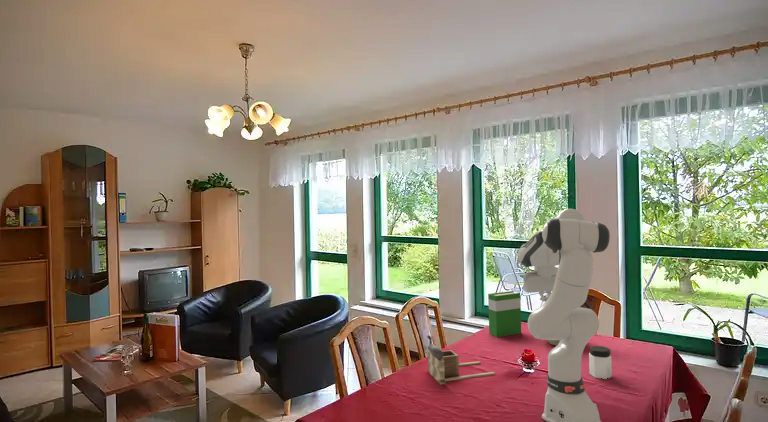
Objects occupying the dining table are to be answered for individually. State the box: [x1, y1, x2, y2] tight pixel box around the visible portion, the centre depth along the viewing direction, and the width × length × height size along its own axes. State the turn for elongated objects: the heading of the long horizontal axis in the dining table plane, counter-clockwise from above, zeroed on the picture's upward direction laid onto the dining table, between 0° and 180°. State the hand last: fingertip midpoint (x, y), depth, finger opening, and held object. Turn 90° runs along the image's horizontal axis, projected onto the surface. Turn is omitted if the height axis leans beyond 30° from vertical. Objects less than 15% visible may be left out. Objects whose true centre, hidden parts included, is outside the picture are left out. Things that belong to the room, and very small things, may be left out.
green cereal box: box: [487, 290, 522, 338], centre depth 266 cm, size 18×7×24 cm, turn 112°
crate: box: [441, 349, 460, 378], centre depth 202 cm, size 8×8×9 cm
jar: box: [588, 345, 613, 380], centre depth 198 cm, size 9×8×12 cm
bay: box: [426, 335, 496, 385], centre depth 204 cm, size 17×27×17 cm, turn 104°
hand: (545, 301), depth 203 cm, fingers closed
